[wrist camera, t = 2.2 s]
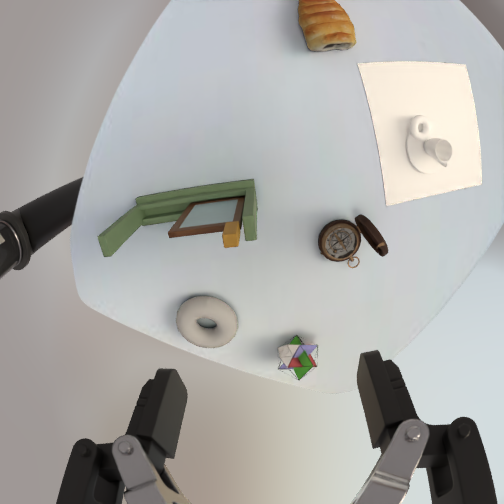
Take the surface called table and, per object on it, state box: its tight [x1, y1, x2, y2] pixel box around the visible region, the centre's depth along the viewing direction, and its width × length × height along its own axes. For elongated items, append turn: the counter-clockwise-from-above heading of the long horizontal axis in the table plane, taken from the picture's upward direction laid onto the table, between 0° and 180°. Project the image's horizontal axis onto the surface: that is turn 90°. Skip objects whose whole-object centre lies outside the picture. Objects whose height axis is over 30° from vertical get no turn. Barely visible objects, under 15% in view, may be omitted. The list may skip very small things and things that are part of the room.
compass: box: [318, 215, 388, 268], centre depth 35 cm, size 8×8×7 cm
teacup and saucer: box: [406, 114, 453, 175], centre depth 29 cm, size 9×8×4 cm
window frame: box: [98, 179, 258, 257], centre depth 30 cm, size 16×4×12 cm, turn 97°
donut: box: [176, 296, 238, 348], centre depth 43 cm, size 10×4×10 cm
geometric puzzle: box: [278, 335, 318, 380], centre depth 44 cm, size 7×7×8 cm
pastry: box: [298, 0, 356, 51], centre depth 23 cm, size 9×7×4 cm
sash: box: [168, 196, 245, 248], centre depth 29 cm, size 7×1×13 cm, turn 97°
